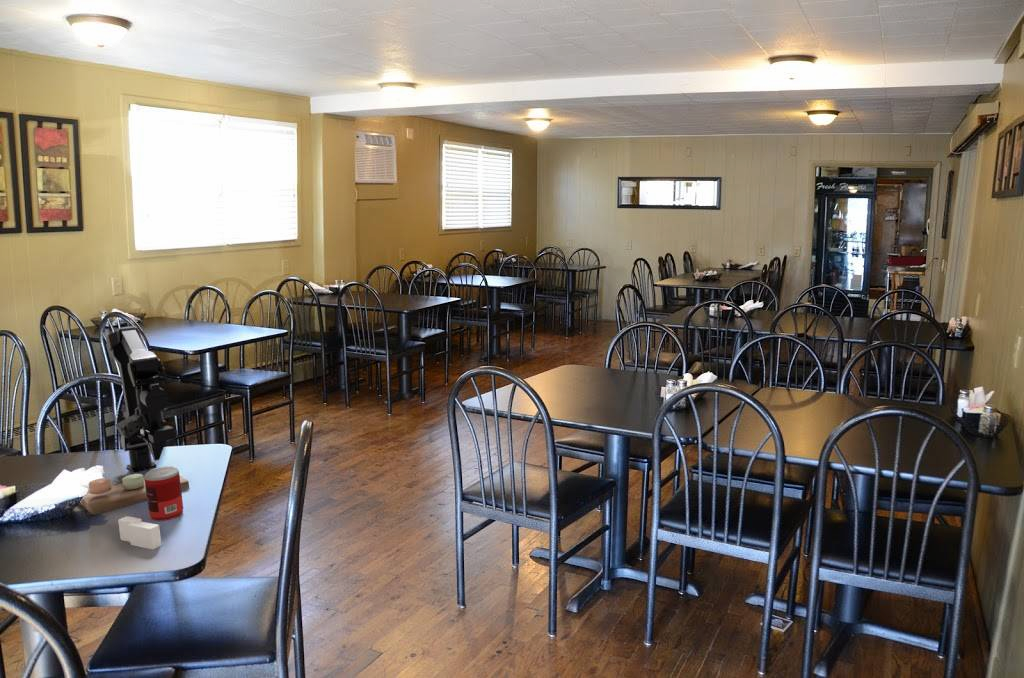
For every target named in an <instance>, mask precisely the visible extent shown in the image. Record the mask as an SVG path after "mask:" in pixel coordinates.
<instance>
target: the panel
mask: <svg viewBox="0 0 1024 678" xmlns="http://www.w3.org/2000/svg"><path fill="white" fill-rule="evenodd" d="M179 476H180V484H181V491H184V490H188V489H190V484H189V482H190V481H189V480H187V479H186V478H184V477H183V476H181V475H180V474H179ZM143 479H144V477H143ZM111 488H112V489H111V490H110V491H108V492H106V493H102V494H90V491H88V493H87V492H86V493H87V494H86V496H84V497H83V498H82V499H81V504H80V505H82V507H84V508H85V509H86V510H87V511H88V512H89V513H90V514H91V515H92V516H94V515H98V514H102V513H105V512H108V511H111V510H116V509H119V508H120V509H121V508H122V507H123V508H124V507H126V506H129V505H134V504H138V503H140V502H144V501H147V495H146V487H145V479H144V485H143V486H142V487H140V488H137V489H130V490H127V489H124V488H123V482H122V483H120V484H119V483H118V484H115V485H111Z"/></svg>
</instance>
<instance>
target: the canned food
mask: <svg viewBox="0 0 1024 678" xmlns="http://www.w3.org/2000/svg"><path fill="white" fill-rule="evenodd" d="M162 467H163V468H159V467H157V468H158V469H157V468H155V469H151V470H150V471H147V472H146V473H145V474H143V478H144V479H145V487H146V495H147V500H146V501H147V508H148V515H149V518H150V520H153V521H157V522H160V521H161V522H162V521H168V520H172V519H175V518H177V517H180V515H181V514H182V513H183V511H184V504H183V503H184V502H183V494H182V490H181V484H180V476H181V475H180V471H179V468H178V467H174V466H172V467H164V466H162ZM179 475H180V476H179Z"/></svg>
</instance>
